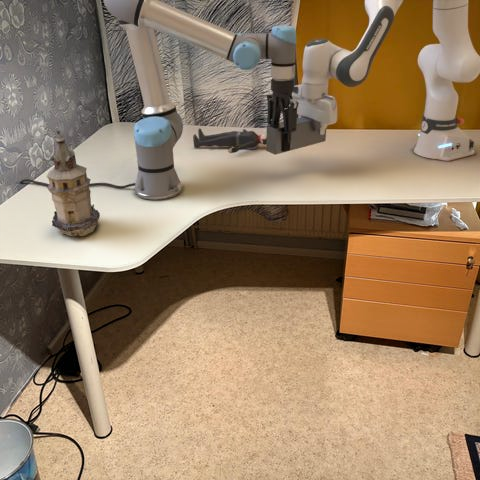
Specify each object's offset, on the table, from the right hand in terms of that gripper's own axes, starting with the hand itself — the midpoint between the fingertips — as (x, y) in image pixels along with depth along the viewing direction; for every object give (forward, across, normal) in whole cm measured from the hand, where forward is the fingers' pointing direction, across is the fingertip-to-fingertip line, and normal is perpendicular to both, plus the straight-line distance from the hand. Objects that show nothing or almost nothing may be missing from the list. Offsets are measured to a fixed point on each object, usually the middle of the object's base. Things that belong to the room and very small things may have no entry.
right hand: (312, 130), depth 186 cm
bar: (+4, 0, +7) cm, 8 cm away
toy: (+14, +37, +8) cm, 40 cm away
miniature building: (+15, +6, +84) cm, 86 cm away
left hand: (+4, 0, +14) cm, 14 cm away
